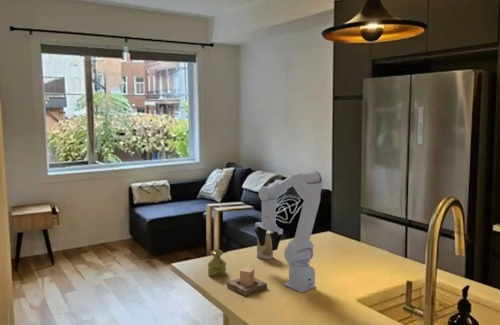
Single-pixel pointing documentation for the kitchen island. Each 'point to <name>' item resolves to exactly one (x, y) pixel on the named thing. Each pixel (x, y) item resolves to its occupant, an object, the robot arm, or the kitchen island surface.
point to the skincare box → (265, 247)
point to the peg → (247, 277)
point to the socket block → (249, 290)
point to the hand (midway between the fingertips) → (268, 247)
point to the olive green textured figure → (217, 264)
